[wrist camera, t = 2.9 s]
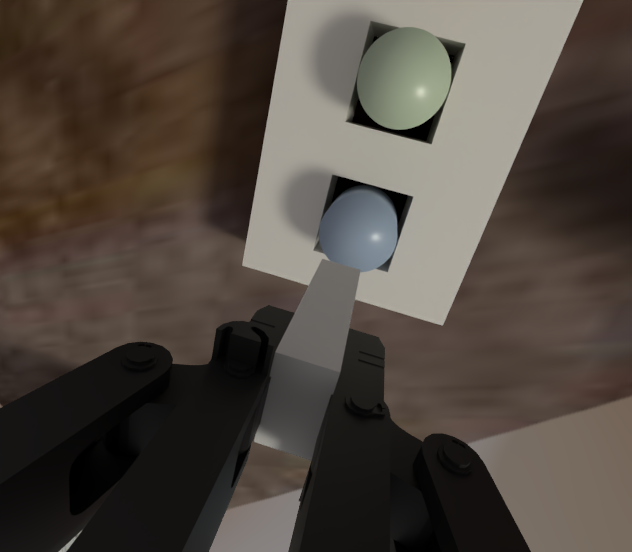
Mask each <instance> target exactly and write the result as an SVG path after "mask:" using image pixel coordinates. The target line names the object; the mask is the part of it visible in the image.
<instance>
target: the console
mask: <svg viewBox="0 0 632 552" xmlns="http://www.w3.org/2000/svg"><path fill="white" fill-rule="evenodd" d="M582 2H583V0H288V3H287V9H286V14H285V20H284V26H283V32H282V38H281V43H280V49H279V55H278V61H277V67H276V72H275V78H274V84H273V90H272V96H271V101H270V107H269V113H268V119H267V125H266V130H265V136H264V142H263V148H262V154H261V159H260V165H259V171H258V177H257V183H256V189H255V194H254V200H253V206H252V212H251V218H250V223H249V229H248V235H247V241H246V247H245V252H244V258H243V264H242V266H246V267H249V268H252V269H256V270H259V271H262V272H266V273H269V274H272V275H276V276H279V277H282V278H286V279H289V280H292V281H296V282H299V283H302V284H306V285H309V284H310V282H311V280H312V278H313V276H314V274H315V272H316V270H317V268H318V266H319V264H320V262H321V260H322V259H325V260H328V261H330V260H329V259H328V258H327V257H326V255H325V254H324V252H323V250H322V248H321V245H320V241H319V227H320V223H321V220H322V218H323V216H324V214H325V213H326V211H327V210H328V209H329V207H330V206H331V203H332V199H333V195H334V191H335V187H336V183H337V180H338V176H340V177H344V178H348V179H351V180H355V181H359V182H362V183H366V184H369V185H373V186H377V187H380V188H384V189H388V190H391V191H395V192H399V193H402V194H406V195H408V197H407V200H406V203H405V206H404V209H403V212H402V215H401V218H400V221H399V224H398V227H397V243H396V247H395V249H394V252H393V253H392V255H391V256H390V258H389V259H388V260H387V261H386V262H385V263H384V264H382V265H381V266H380V267H378V268H376V269H374V270H371V271H367V272H360V276H359V281H358V286H357V291H356V296H355V299H356V300H359V301H362V302H366V303H369V304H372V305H376V306H379V307H382V308H386V309H389V310H392V311H396V312H399V313H402V314H406V315H409V316H412V317H416V318H419V319H422V320H426V321H429V322H432V323H436V324H439V325H442V326H443V324H444V321H445V319H446V317H447V314H448V312H449V310H450V308H451V305H452V303H453V301H454V298H455V296H456V294H457V291H458V289H459V287H460V284H461V282H462V280H463V277H464V275H465V273H466V270H467V268H468V266H469V264H470V261H471V259H472V257H473V254H474V252H475V250H476V247H477V245H478V243H479V240H480V238H481V236H482V233H483V231H484V229H485V227H486V224H487V222H488V220H489V217H490V215H491V213H492V210H493V208H494V206H495V203H496V201H497V199H498V196H499V194H500V192H501V189H502V187H503V185H504V183H505V180H506V178H507V176H508V173H509V171H510V169H511V166H512V164H513V162H514V159H515V157H516V155H517V152H518V150H519V148H520V145H521V143H522V141H523V139H524V136H525V134H526V132H527V129H528V127H529V125H530V122H531V120H532V118H533V115H534V113H535V111H536V108H537V106H538V104H539V102H540V99H541V97H542V95H543V92H544V90H545V88H546V85H547V83H548V81H549V78H550V76H551V74H552V71H553V69H554V67H555V64H556V62H557V60H558V58H559V55H560V53H561V51H562V48H563V46H564V44H565V41H566V39H567V37H568V34H569V32H570V30H571V27H572V25H573V23H574V21H575V18H576V16H577V14H578V11H579V9H580V7H581V4H582ZM403 27H415V28H420V29H423V30H425V31H427V32H429V33H431V34H432V35H434V36H435V37H436V38H437V39H438V40H439V41H440V42H441V43H442V45H443V46H444V48H445V49H446V51H447V54H450V55H454V56H455V57H454V60H453V63H452V66H451V83H450V88H449V91H448V94H447V96H446V99H445V100H444V102H443V104H442V106H441V107H440V108H439V110H438V111H437V112H436V113H435V116H434V119H433V122H432V125H431V128H430V131H429V134H428V137H427V140H426V141H424V140H420V139H416V138H412V137H408V136H405V135H401V134H397V133H393V132H389V131H386V130H382V129H378V128H374V127H370V126H367V125H363V124H359V123H355V122H352V121H353V117H354V113H355V109H356V105H357V101H358V98H359V96H358V90H357V77H358V71H359V67H360V64H361V61H362V59H363V57H364V55H365V53H366V52H367V50H368V49H369V48H370V46H371V45H372V43H373V39H374V36H376V37H381V36H382V35H384V34H386V33H387V32H389V31H392V30H394V29H398V28H403Z"/></svg>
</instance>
